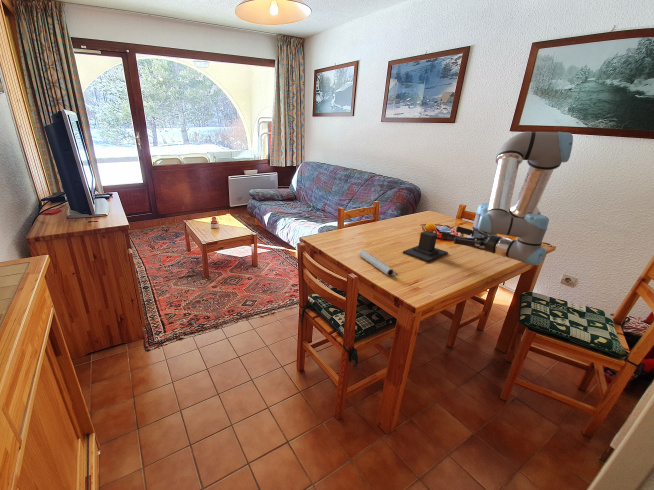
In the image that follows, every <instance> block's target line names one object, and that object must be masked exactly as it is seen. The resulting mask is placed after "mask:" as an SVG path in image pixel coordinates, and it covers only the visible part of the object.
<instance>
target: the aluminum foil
mask: <svg viewBox="0 0 654 490" xmlns="http://www.w3.org/2000/svg"><path fill="white" fill-rule="evenodd" d="M358 255H359V257H361V258H362V259H363V260H365V261H367V263H369V264H370V265H372V266H373V267H375V268H376V269H378V270H379V271H380V272H382V273H383V274H385V275H386V276H388V277H391V276H392V277H393V276H397V273H396V272H395V271H394V269H393V268H391V267H389V266H388V265H386V264H384V263H383V262H382V261H381V260H379V259H378V258H376V257H374V256H373V255H372V254H369V252H367V251H365V250H361V251H359V254H358Z"/></svg>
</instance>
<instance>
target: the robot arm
mask: <svg viewBox="0 0 654 490" xmlns="http://www.w3.org/2000/svg"><path fill="white" fill-rule="evenodd" d="M573 143H574V136H573V133H571V132H565V131H564V132H563V131H529V130H528V131H523V132H519V133H518V134H514V135H513V136H512V137H510V138H509V139H507V140H506V141H505V142H504V143H503V144H502V146H501V147H500V148H499V149H498V152H497V153H496V157H495V163H496V164H497V165H496V168H495V169H496V170H495V173H494V177H493V178H494V179H493V182H492V186H491V191H490V195H489V199H488V202H485V203H481V204H479V205H477V209H476V211H475V217H474V220H473V224H472V228H471V229H470V228H467V227H462V226H459V225H458V226H457V227H456V233H458V234H459V233H460V234H463V235H467V236H466V237H465V236H458V234H456V235H455V234H453V233H449V232H447V231H441V235H440V238H441V239H445V240H449V241H451V242H453V244H454V245H460V246H467V247H472V248H475V249H480V250H485V251H486V252H487V253H491V254H495V255H498V256H501V257H502V258H509V259H512V260H514V261H518V262H521V263H524V264H526V265H527V264H528V265H532V266H539V265H541V264H542V263H543V262H544V259H545V258H546V255H547V248H545V247H543V246H542V245H547V246H549V245H551V244H550V243H548V242H543V240H544V237H545V234H546V233H547V231H548V225H549V222H550V219H549V217H547V216H546V215H543V214H542V213H541V211H540V210H539V207H538V205H539V203H540V201H541V199H542V196H543V194H544V192H545V190H546V189H547V188H546V187H547V185H548V183H549V181H550V179H551V176H552V174H553V172H554V171H555V170H556V169H558V168H560V166H561V165H562V163H567V162H569V160H570V158H571V154H572V150H573ZM523 161H526V163H527V166H528V167H529V168H528V170H527V173H526V175H525V177H524V180H523V182H522V185H521V188H520V191H519V193H518V196H517V199H516V201H515V202H514V203H512V199H513V194H514V191H515V190H514V189H515V185H516V181H517V180H516V179H517V177H518V175H517V174H518V171H519V166H520V165H521V164H522V163H523ZM499 235H503V236H509V237H513V238H514V237H515V238H517V240H515V239H511V238H507V237H502V236H499ZM542 243H543V244H542ZM549 247H553V246H552V245H551V246H549Z"/></svg>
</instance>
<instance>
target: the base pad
mask: <svg viewBox="0 0 654 490" xmlns="http://www.w3.org/2000/svg"><path fill="white" fill-rule="evenodd" d="M402 254H404V255H407V256H409V257H412V258H415V259H417V260H420V261H423V262H425V263H430V262H432V261H435V260H437V259H439V258H442V257H444V256H446V255H448V254H449V252H448V251H446V250H443V249H441V248H438V247H435V248H434V251H432V252H430V253H429V252H426V251H423V250H420V249H418V245H416V246H413V247H411V248H408V249H405V250H403V251H402Z"/></svg>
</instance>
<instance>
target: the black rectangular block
mask: <svg viewBox="0 0 654 490" xmlns="http://www.w3.org/2000/svg"><path fill="white" fill-rule="evenodd" d="M437 238H438V233H435V232H432V231H428V230H425V231H422V232H420V236H419V241H418V245H417V246H418V249H420V250H423V251H426V252H429V253H430V252H432V251H434V248H436V243H437Z"/></svg>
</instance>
